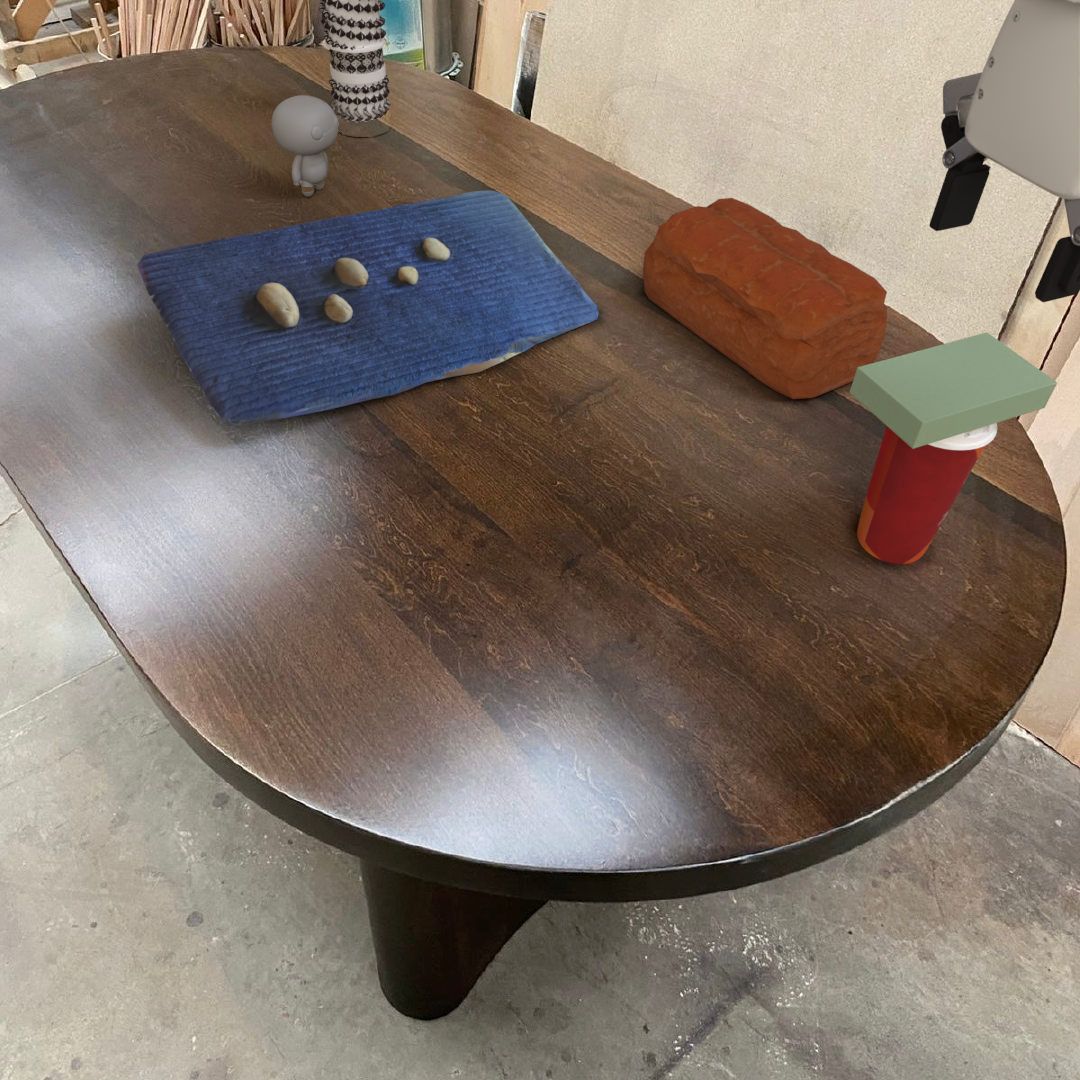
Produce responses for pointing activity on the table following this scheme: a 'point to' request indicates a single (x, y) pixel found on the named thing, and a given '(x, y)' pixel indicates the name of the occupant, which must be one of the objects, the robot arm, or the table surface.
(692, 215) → the bread
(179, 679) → the table surface
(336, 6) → the decorative candle
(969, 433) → the coffee cup
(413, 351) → the mat
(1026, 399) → the sage green foam block
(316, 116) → the figurine
